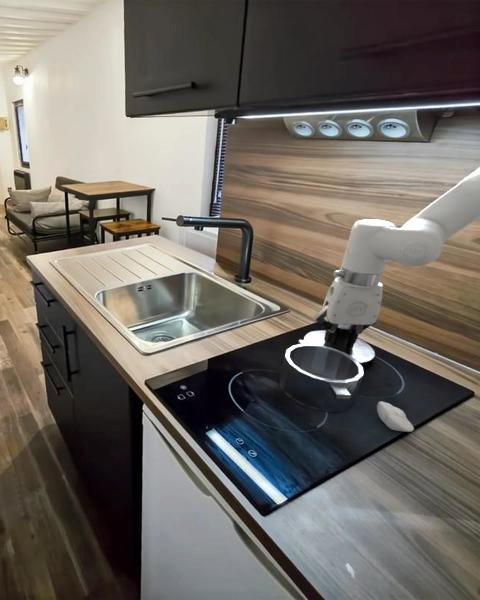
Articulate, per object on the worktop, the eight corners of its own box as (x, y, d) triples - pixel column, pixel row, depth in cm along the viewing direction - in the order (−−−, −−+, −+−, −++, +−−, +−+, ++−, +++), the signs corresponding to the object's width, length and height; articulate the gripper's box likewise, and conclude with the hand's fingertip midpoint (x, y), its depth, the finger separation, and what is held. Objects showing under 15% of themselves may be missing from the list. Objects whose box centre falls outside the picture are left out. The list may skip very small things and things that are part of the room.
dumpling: (364, 413, 72) (372, 395, 71) (392, 419, 72) (400, 401, 70) (388, 435, 65) (397, 416, 64) (419, 441, 65) (428, 422, 64)
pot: (329, 365, 86) (337, 338, 82) (374, 425, 69) (386, 394, 65) (267, 362, 88) (273, 336, 85) (296, 419, 71) (304, 389, 68)
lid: (354, 335, 96) (361, 312, 93) (387, 368, 83) (396, 343, 80) (294, 333, 98) (299, 311, 95) (316, 365, 85) (323, 340, 82)
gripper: (326, 281, 80) (307, 351, 88) (411, 283, 77) (384, 355, 85) (312, 269, 87) (296, 335, 95) (390, 270, 84) (367, 338, 92)
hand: (338, 344), depth 90 cm, fingers closed on lid, 3 cm apart
